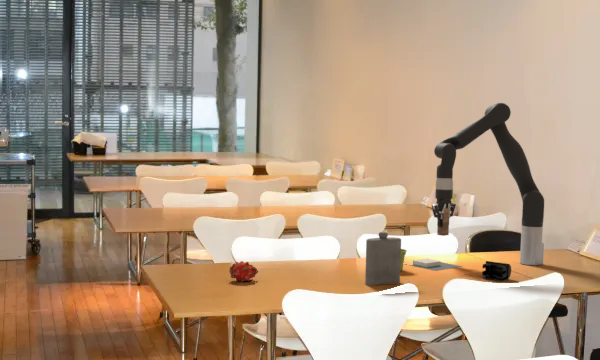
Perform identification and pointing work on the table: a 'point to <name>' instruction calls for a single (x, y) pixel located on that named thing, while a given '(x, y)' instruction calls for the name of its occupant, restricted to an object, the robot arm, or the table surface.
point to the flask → (383, 260)
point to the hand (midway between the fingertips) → (443, 226)
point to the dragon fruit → (242, 271)
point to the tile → (426, 263)
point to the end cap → (496, 271)
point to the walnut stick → (444, 223)
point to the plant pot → (402, 258)
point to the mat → (440, 267)
